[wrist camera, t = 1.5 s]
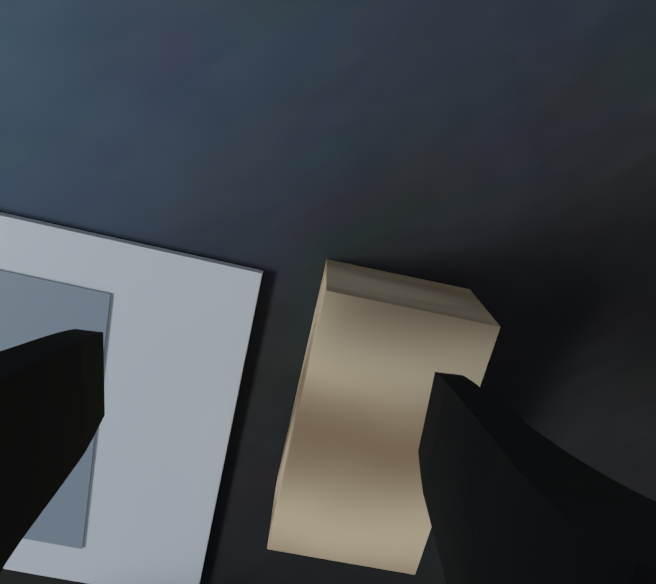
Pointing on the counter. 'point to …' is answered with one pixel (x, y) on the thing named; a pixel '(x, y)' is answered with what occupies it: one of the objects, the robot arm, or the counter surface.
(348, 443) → the slab
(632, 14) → the counter surface
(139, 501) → the white flat plate
